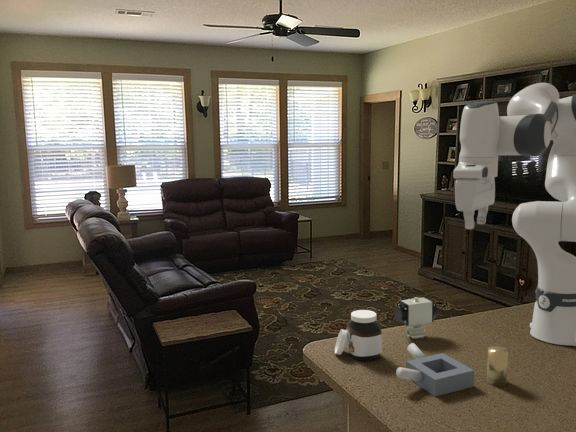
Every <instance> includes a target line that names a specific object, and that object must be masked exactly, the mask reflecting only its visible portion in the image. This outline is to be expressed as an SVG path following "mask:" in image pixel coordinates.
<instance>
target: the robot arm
mask: <svg viewBox="0 0 576 432" xmlns="http://www.w3.org/2000/svg"><path fill="white" fill-rule="evenodd" d="M506 108H507V109H506V114H507V115H503V116H500V113H499V105H498V102H496V101H493V100H483V101H476V102H473V101H472V102H470V103H468V104H466V105H464V107H463V110H462V113H461V119H460V128H459V143H460V152H459V155H458V156H459V157H458V164H457V165H456V167H455V168H454V169H453V172H452V173H453V179H455V182H454V197H455V198H454V199H455V200H454V201H455V208H456V210H457V211H458V212H463V215H462V216H463V218H464V229H465V230H473V229H475V220H474V219H475V218H474V215H475V211H477V212H478V213H477V217H476V224H478V225H485V224H486V222H487V214H488V212H489V206H492V205H494V203H495V199H496V182H495V181H496V180H495V178H496V177H498V169H499V168H498V167H499V156H523V157H534V158H535V157H538V156H540V155H541V154H543V153H544V152H546V151H547V150H548V149H549V147H550V143H551V141H552V143H553V144H552V146H551V149H550V151H549V154H548V159H547V165H546V171H545V172H546V173H545V180H544V187H545V190H546V192H548V194H549V195H551V197H553V199H555V200H558V201H550V200H549V201H545V200H544V201H543V200H542V201H541V200H535V201H528V202H522V203H519V205H518V206H516V208H515V209H514V211H513V213H512V217H511V223H512V227H513V229H514V231H515V233H516V234H517V235H518V236H519V237H521V238H522V239H523V240H525V241H526V242H527V244H528V245H529V246H530V247H531V249H532V251H533V252H534V254H535V258H536V261H537V275H538V276H537V277H538V279H537V282H538V283H537V286H536V289H535V299H536V301H535V302H534V307H533V314H532V319H531V322H529V328H530V331H529V334H530V335H531V336H532V337H533V338H535V339H537V340H539V341H541V342H545V343H548V344H552V345H553V344H554V345H559V346H573V347H576V256H575V255H574V254H572V253H570V252H567V251H565V250H564V249H563V248H562V247H561V246H560V244H559V242H572V243H573V242H574V243H576V93H575V94H573V95H571V96H567V97H563V98H560V93H559V91H558V89H557V88H556V87H555V86H554V85H553V84H552V83H548V82H537V83H534V84H530V85H528V86H526V87H524V88H523V89H521V90H519V91H518V92H517V93H515V94H514V95H513V96H512V98H510V99H509V102H508V103H507V107H506Z"/></svg>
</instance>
